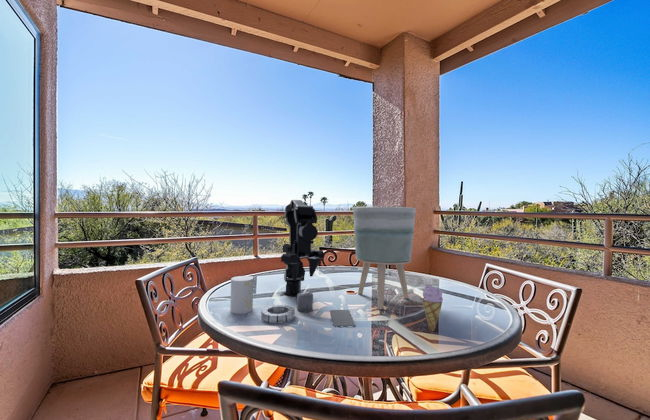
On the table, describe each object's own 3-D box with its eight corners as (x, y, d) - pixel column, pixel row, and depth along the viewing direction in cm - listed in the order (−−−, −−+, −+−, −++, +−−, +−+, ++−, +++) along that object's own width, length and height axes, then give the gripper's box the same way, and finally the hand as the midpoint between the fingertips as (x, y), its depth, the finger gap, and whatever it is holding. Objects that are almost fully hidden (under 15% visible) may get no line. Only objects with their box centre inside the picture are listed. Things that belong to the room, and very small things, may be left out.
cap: (304, 306, 114) (304, 289, 115) (315, 309, 111) (316, 292, 111) (293, 310, 110) (294, 292, 110) (305, 313, 106) (305, 295, 106)
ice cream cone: (418, 326, 96) (418, 281, 96) (435, 325, 97) (436, 281, 97) (426, 334, 90) (427, 286, 90) (445, 334, 90) (446, 286, 90)
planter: (418, 297, 130) (420, 208, 130) (406, 315, 106) (408, 207, 106) (363, 288, 142) (364, 207, 142) (341, 303, 118) (343, 206, 119)
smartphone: (333, 325, 94) (329, 309, 109) (333, 328, 94) (329, 312, 109) (355, 325, 95) (349, 309, 110) (355, 328, 95) (349, 311, 110)
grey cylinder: (246, 314, 104) (247, 281, 104) (226, 312, 106) (226, 280, 106) (256, 307, 112) (256, 276, 112) (237, 305, 114) (237, 275, 114)
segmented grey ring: (279, 309, 110) (279, 302, 110) (300, 316, 103) (301, 309, 103) (254, 317, 101) (255, 310, 101) (276, 326, 94) (277, 318, 94)
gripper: (305, 235, 123) (304, 271, 123) (271, 237, 108) (270, 279, 108) (325, 237, 116) (324, 275, 116) (292, 240, 101) (291, 284, 101)
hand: (303, 278), depth 110 cm, fingers open, 9 cm apart
